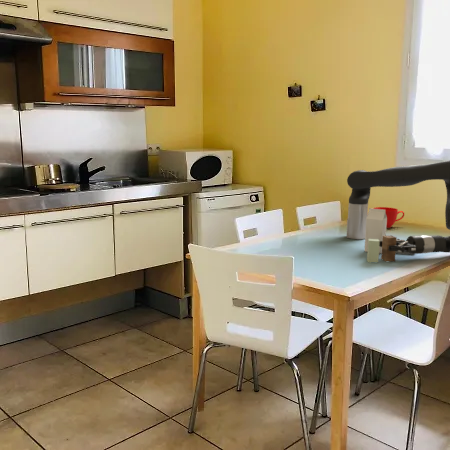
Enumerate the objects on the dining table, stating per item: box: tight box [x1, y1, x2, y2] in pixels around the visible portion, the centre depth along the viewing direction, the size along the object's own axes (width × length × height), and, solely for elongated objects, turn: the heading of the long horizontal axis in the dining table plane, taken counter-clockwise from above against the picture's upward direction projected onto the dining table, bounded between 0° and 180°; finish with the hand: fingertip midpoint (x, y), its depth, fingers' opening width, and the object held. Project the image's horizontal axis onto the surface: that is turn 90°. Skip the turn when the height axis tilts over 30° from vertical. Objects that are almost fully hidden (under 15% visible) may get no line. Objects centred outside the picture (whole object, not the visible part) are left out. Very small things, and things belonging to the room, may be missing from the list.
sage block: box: [366, 239, 380, 263], centre depth 214 cm, size 4×4×9 cm
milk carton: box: [364, 207, 387, 254], centre depth 229 cm, size 7×7×19 cm
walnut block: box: [380, 234, 398, 262], centre depth 215 cm, size 4×4×10 cm
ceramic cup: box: [372, 206, 405, 229], centre depth 284 cm, size 13×17×10 cm
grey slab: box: [395, 250, 415, 256], centre depth 231 cm, size 9×9×3 cm
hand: (384, 246), depth 215 cm, fingers open, 7 cm apart
